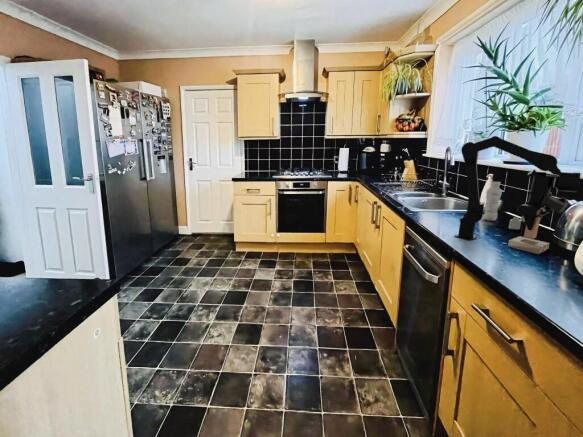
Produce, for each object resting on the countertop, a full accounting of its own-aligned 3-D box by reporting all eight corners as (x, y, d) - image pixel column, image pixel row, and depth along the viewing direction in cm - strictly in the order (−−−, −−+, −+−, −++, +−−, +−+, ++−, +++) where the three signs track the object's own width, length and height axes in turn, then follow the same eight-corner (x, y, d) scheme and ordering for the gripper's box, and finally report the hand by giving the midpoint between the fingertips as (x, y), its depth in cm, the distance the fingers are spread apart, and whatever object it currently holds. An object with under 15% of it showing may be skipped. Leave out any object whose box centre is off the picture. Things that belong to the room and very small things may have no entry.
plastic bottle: (481, 218, 170) (488, 180, 165) (496, 220, 166) (504, 182, 161) (480, 220, 164) (487, 182, 160) (495, 222, 161) (503, 183, 156)
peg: (532, 238, 121) (537, 218, 119) (523, 236, 123) (528, 216, 121) (536, 237, 122) (540, 217, 120) (527, 235, 125) (531, 215, 123)
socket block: (538, 254, 117) (539, 247, 116) (507, 246, 125) (509, 240, 124) (548, 249, 123) (549, 243, 122) (518, 242, 130) (519, 236, 130)
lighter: (509, 228, 150) (513, 212, 148) (508, 227, 152) (511, 211, 150) (526, 230, 149) (530, 213, 147) (524, 229, 151) (528, 212, 149)
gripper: (558, 194, 106) (547, 239, 110) (576, 190, 117) (566, 231, 121) (520, 189, 115) (511, 231, 119) (540, 186, 126) (531, 224, 130)
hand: (531, 229), depth 122 cm, fingers closed on peg, 3 cm apart
